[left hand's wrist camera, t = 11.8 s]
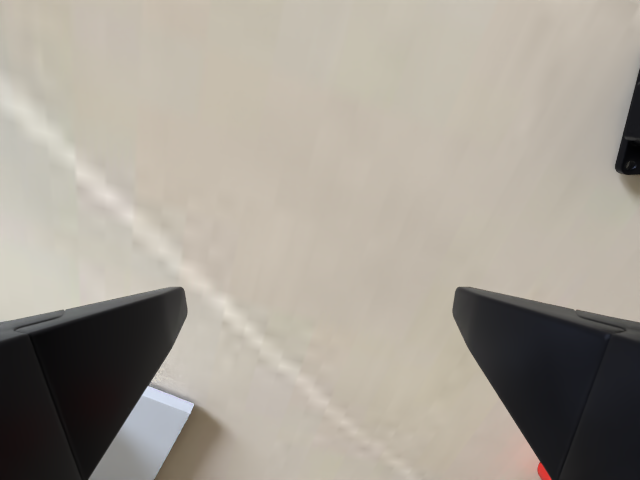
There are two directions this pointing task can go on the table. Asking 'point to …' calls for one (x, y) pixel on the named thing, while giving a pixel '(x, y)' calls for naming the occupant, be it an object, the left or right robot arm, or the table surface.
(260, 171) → the table surface
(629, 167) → the left robot arm
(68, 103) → the table surface
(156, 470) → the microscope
